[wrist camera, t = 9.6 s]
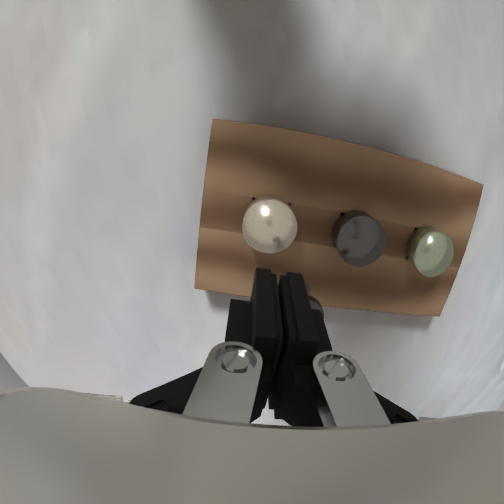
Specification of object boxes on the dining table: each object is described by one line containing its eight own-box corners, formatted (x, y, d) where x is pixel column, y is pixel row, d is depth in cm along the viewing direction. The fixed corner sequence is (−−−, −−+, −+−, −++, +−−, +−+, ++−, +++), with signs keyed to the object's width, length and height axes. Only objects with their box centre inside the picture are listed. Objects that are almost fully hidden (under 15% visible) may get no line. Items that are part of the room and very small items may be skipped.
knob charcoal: (330, 199, 29) (344, 213, 24) (371, 207, 29) (391, 222, 24) (321, 241, 31) (332, 262, 26) (361, 248, 31) (378, 269, 26)
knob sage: (401, 214, 29) (424, 230, 25) (433, 221, 30) (459, 238, 25) (390, 253, 31) (410, 274, 26) (422, 258, 31) (444, 279, 26)
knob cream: (248, 185, 29) (246, 196, 24) (294, 192, 29) (302, 205, 24) (242, 229, 31) (238, 249, 26) (286, 236, 31) (291, 256, 26)
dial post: (285, 272, 29) (290, 299, 25) (317, 277, 29) (328, 303, 25) (278, 301, 30) (282, 331, 26) (310, 305, 31) (318, 334, 26)
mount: (217, 120, 27) (212, 118, 24) (468, 179, 28) (483, 184, 25) (199, 274, 33) (194, 288, 30) (428, 303, 34) (439, 316, 31)
